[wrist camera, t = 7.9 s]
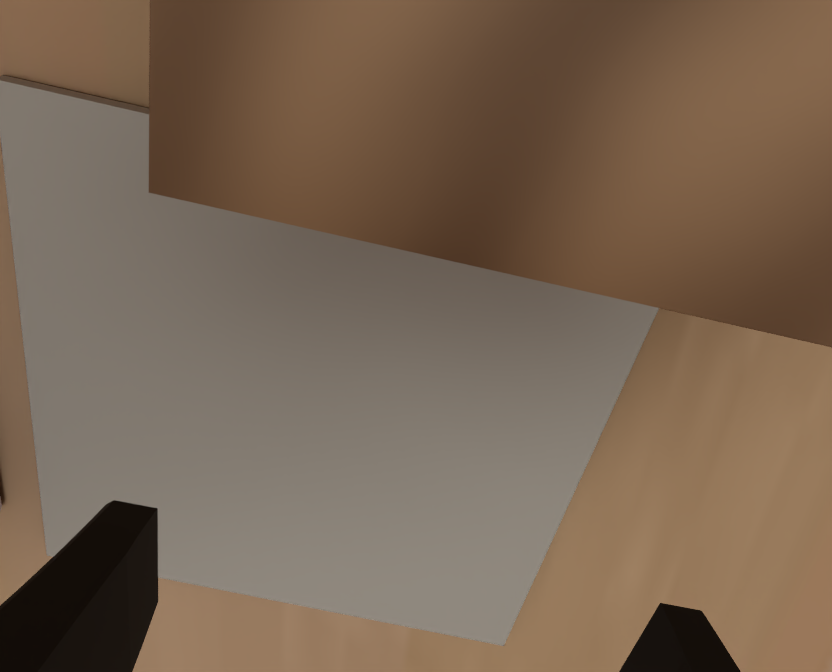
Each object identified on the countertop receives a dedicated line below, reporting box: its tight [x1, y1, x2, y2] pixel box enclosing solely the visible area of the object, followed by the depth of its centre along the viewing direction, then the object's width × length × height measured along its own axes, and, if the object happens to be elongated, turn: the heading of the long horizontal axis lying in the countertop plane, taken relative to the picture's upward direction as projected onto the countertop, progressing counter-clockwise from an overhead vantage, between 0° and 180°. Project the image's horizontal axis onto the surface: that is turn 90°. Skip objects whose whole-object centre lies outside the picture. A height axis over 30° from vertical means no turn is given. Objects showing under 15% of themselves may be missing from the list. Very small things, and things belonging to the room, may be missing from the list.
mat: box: [0, 75, 659, 646], centre depth 22 cm, size 17×17×1 cm
